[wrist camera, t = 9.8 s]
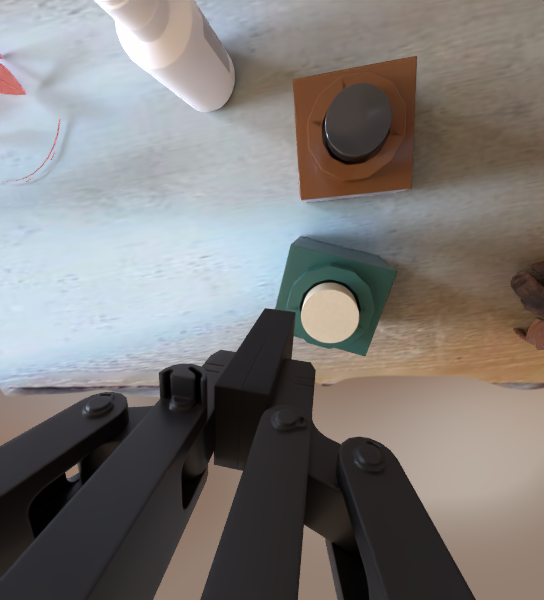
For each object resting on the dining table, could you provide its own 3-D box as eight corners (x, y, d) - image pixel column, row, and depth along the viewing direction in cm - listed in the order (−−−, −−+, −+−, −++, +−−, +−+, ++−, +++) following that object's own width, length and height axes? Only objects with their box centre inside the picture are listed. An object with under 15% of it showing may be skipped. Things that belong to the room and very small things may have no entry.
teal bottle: (378, 255, 35) (402, 276, 24) (356, 321, 38) (368, 366, 27) (300, 236, 36) (287, 247, 25) (283, 301, 39) (266, 337, 28)
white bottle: (239, 45, 32) (137, -147, 15) (232, 116, 34) (137, 20, 17) (181, 40, 32) (21, -147, 16) (178, 110, 35) (36, 12, 18)
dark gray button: (385, 91, 23) (393, 76, 20) (385, 157, 24) (391, 151, 22) (324, 101, 24) (323, 88, 21) (326, 165, 25) (326, 160, 23)
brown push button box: (395, 94, 30) (425, 41, 21) (392, 193, 33) (418, 186, 24) (300, 109, 32) (289, 68, 23) (305, 202, 35) (298, 199, 26)
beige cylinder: (363, 290, 25) (367, 298, 23) (347, 337, 27) (349, 349, 25) (310, 276, 26) (309, 283, 24) (297, 324, 27) (294, 334, 25)
